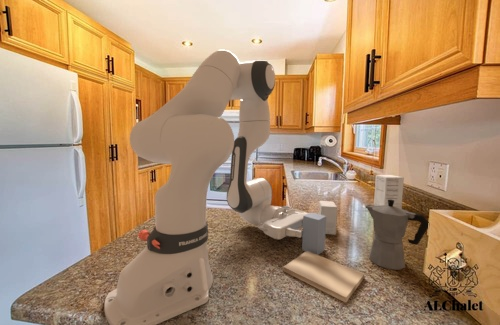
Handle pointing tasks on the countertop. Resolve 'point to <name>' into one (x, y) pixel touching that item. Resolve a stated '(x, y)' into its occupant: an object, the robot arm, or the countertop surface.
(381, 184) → the supplement box
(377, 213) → the coffeepot
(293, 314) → the countertop surface
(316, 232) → the slate block
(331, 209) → the small box
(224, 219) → the countertop surface
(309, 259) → the beech board
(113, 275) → the countertop surface
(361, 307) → the countertop surface
